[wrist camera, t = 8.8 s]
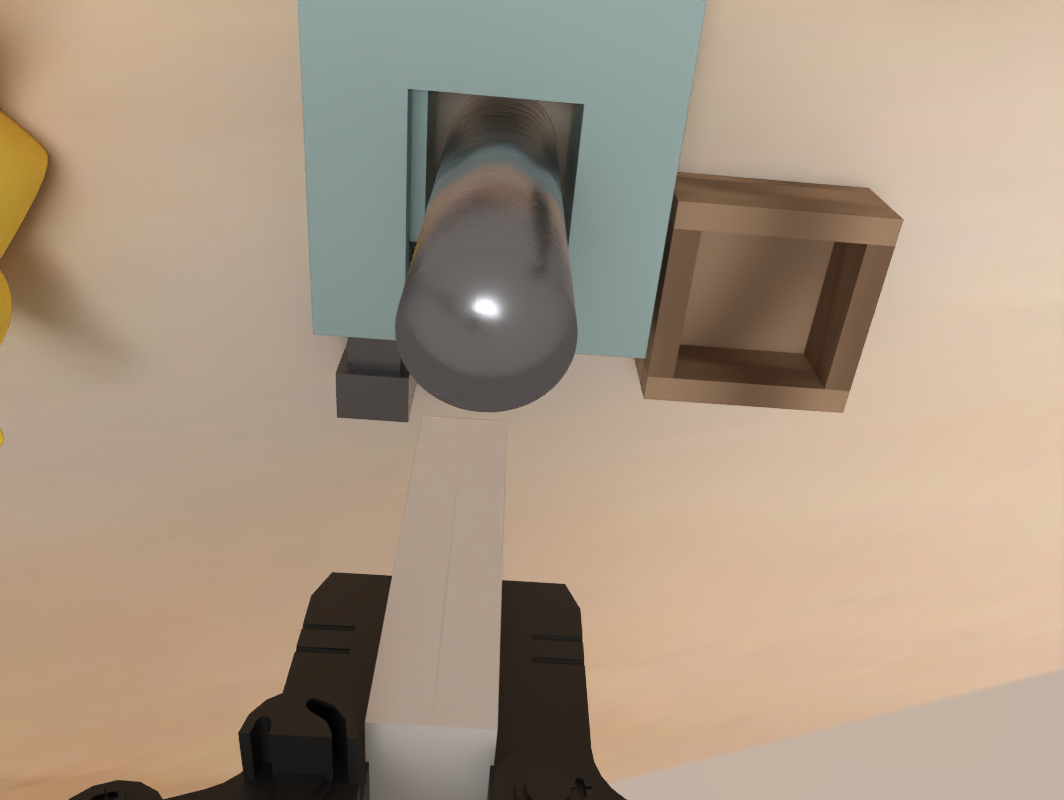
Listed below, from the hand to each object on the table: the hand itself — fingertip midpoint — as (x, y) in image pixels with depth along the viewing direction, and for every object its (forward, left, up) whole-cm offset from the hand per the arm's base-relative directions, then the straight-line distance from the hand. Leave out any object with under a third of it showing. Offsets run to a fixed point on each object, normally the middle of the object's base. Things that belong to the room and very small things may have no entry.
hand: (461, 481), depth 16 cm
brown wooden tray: (+11, -4, -20) cm, 23 cm away
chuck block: (0, +1, -20) cm, 20 cm away
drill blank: (0, +1, -20) cm, 20 cm away
